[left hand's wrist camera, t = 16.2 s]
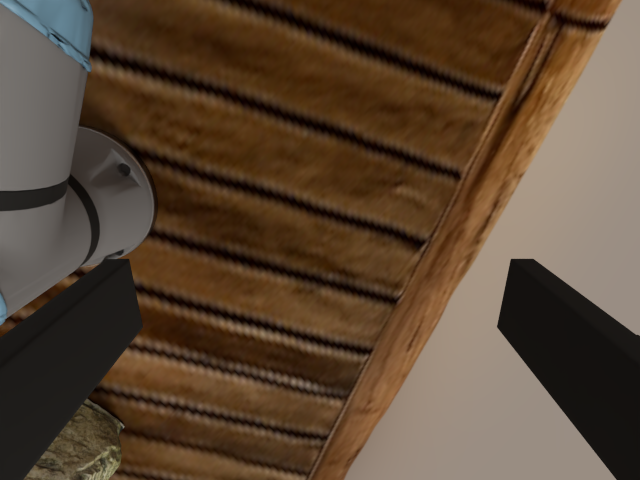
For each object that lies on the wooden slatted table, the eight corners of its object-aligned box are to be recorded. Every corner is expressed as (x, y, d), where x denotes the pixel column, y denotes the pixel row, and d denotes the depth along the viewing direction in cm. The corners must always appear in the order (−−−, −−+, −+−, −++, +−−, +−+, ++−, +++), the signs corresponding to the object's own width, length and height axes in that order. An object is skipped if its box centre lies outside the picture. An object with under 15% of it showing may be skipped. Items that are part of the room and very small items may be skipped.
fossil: (129, 450, 56) (65, 568, 42) (4, 412, 53) (-110, 524, 39) (145, 409, 53) (81, 521, 39) (12, 367, 50) (-107, 470, 36)
